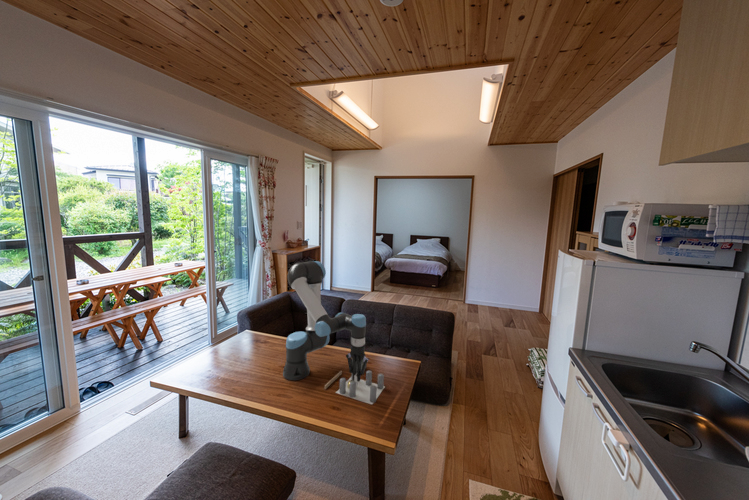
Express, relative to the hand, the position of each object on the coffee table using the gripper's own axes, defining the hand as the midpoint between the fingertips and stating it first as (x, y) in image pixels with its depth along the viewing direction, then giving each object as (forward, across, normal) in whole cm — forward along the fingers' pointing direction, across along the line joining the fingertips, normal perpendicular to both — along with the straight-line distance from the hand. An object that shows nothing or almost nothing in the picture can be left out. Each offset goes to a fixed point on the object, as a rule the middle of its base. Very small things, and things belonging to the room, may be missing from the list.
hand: (356, 385), depth 153 cm
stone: (+3, -9, +19) cm, 21 cm away
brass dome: (+1, -3, 0) cm, 3 cm away
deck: (+2, -1, 0) cm, 3 cm away
